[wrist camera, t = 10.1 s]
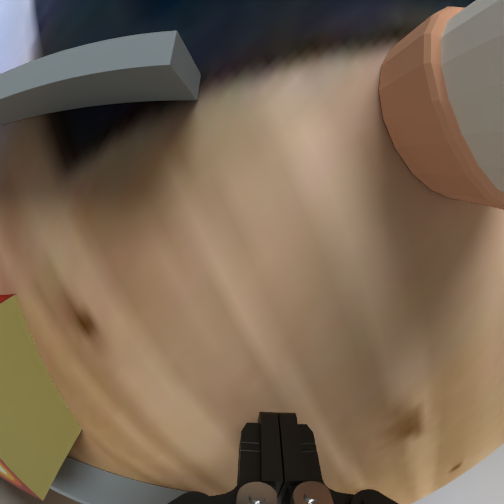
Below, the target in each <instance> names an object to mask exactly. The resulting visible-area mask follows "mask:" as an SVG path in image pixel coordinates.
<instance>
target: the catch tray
mask: <svg viewBox="0 0 504 504" xmlns="http://www.w3.org/2000/svg"><path fill="white" fill-rule="evenodd" d="M200 78H201V74H200V72H199V70H198V68H197V67H196V65H195V63H194V61H193V59H192V57H191V55H190V54H189V52H188V50H187V48H186V46H185V44H184V43H183V41H182V39H181V37H180V35H179V34H178V32H177V31H166V32H155V33H147V34H139V35H132V36H126V37H120V38H114V39H109V40H104V41H99V42H95V43H91V44H86V45H82V46H79V47H75V48H71V49H68V50H64V51H61V52H58V53H54V54H51V55H48V56H45V57H42V58H39V59H37V60H34V61H31V62H29V63H26V64H23V65H21V66H18V67H16V68H14V69H11V70H9V71H7V72H4V73H2V74H0V125H3V124H6V123H10V122H14V121H18V120H22V119H26V118H30V117H34V116H39V115H43V114H48V113H53V112H59V111H64V110H70V109H76V108H83V107H90V106H98V105H107V104H117V103H129V102H144V101H170V100H198V92H199V85H200ZM50 489H52V490H54V491H56V492H58V493H60V494H62V495H65V496H67V497H69V498H71V499H73V500H75V501H78V502H80V503H82V504H168V503H169V502H171V501H172V500H174V499H176V498H177V497H179V496H180V495H182V494H184V493H187V491H181V490H176V489H171V488H166V487H161V486H156V485H152V484H148V483H144V482H140V481H136V480H133V479H129V478H126V477H122V476H119V475H116V474H113V473H110V472H107V471H104V470H101V469H98V468H95V467H92V466H90V465H87V464H85V463H82V462H79V461H77V460H75V459H72V458H70V457H68V456H67V457H66V458H65V460H64V462H63V464H62V466H61V467H60V469H59V471H58V473H57V475H56V477H55V479H54V481H53V482H52V484H51V486H50Z"/></svg>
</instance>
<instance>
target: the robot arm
mask: <svg viewBox="0 0 504 504" xmlns="http://www.w3.org/2000/svg"><path fill="white" fill-rule="evenodd" d="M316 451H317V449H316V444H315V439H314V434H313V432H312V431H311V429H310V428H309V427H308V425H307V424H297V417H296V414H295V413H278V414H277V413H274V412H260V413H259V418H258V423H246V425H245V427H244V428H243V430H242V431H241V439H240V446H239V459H238V478H237V486H236V487H235V488H234V489H233V490H232V491H230V492H228V493H226V494H222V495H216V496H208V495H206V494H204V493H201V492H187V493H184V494H182V495H180V496H179V497H177V498H176V499H174V500H172V501H171V502H169V503H168V504H398V503H396V502H395V501H393V500H391V499H389V498H388V497H386V496H384V495H383V494H381V493H380V492H378V491H375V490H370V489H367V490H362V491H360V492H358V493H357V494H355V495H353V494H346V493H339V492H335V491H333V490H331V489H329V488H328V487H327V486H326V485H325V484H324V482H323V480H322V475H321V470H320V465H319V460H318V454H317V452H316Z"/></svg>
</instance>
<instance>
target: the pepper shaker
mask: <svg viewBox="0 0 504 504" xmlns="http://www.w3.org/2000/svg"><path fill="white" fill-rule="evenodd" d="M379 96H380V101H381V108H382V114H383V120H384V122H385V125H386V127H387V129H388V132H389V134H390V137H391V139H392V142H393V144H394V147H395V149H396V151H397V152H398V153H399V155H400V156H401V158H402V159H403V161H404V162H405V164H406V165H407V167H408V168H409V170H410V171H411V173H412V174H413V175H415V176H416V177H417V178H418V179H419V180H420V181H422V182H423V183H424V184H425V185H426V186H427V187H428V188H429V189H430V190H432V191H434V192H437V193H439V194H441V195H444V196H446V197H448V198H451V199H456V200H461V201H466V202H471V203H476V204H481V205H486V206H491V207H495V208H500V209H504V0H476V1H474V2H473V3H471V4H470V5H469V6H467V7H466V8H461V7H446V8H444V9H443V10H441V11H439V12H437V13H435V14H433V15H432V16H431V17H429V18H428V19H427V20H425V21H424V22H423V23H422V24H420V25H419V26H418V27H417V28H415V29H414V30H413V31H412V32H410V33H409V34H408V35H407V36H406V37H404V38H403V39H402V40H401V41H399V42H398V43H397V44H396V45H395V46H393V47H392V48H391V50H390V52H389V54H388V55H387V57H386V59H385V61H384V63H383V64H382V67H381V76H380V84H379Z"/></svg>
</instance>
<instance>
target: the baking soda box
mask: <svg viewBox="0 0 504 504" xmlns="http://www.w3.org/2000/svg"><path fill="white" fill-rule="evenodd" d="M81 430H82V429H81V427H80V426H79V424H78V423H77V421H76V420H75V418H74V416H73V415H72V413H71V412H70V410H69V408H68V407H67V405H66V403H65V402H64V400H63V398H62V397H61V395H60V393H59V391H58V390H57V388H56V386H55V384H54V382H53V380H52V379H51V377H50V375H49V373H48V371H47V369H46V367H45V365H44V363H43V361H42V359H41V356H40V354H39V352H38V350H37V348H36V345H35V343H34V341H33V339H32V336H31V334H30V331H29V329H28V326H27V324H26V321H25V319H24V316H23V313H22V311H21V308H20V305H19V302H18V299H17V296H16V294H10V295H0V477H2V478H3V479H5V480H7V481H8V482H10V483H11V484H13V485H15V486H17V487H18V488H20V489H22V490H23V491H25V492H27V493H29V494H31V495H33V496H35V497H37V498H39V499H41V500H44V498H45V496H46V494H47V492H48V490H49V488H50V486H51V484H52V482H53V481H54V479H55V477H56V475H57V473H58V471H59V469H60V467H61V466H62V464H63V462H64V460H65V458H66V457H67V455H68V453H69V451H70V449H71V448H72V446H73V444H74V442H75V441H76V439H77V437H78V435H79V434H80V432H81Z"/></svg>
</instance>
